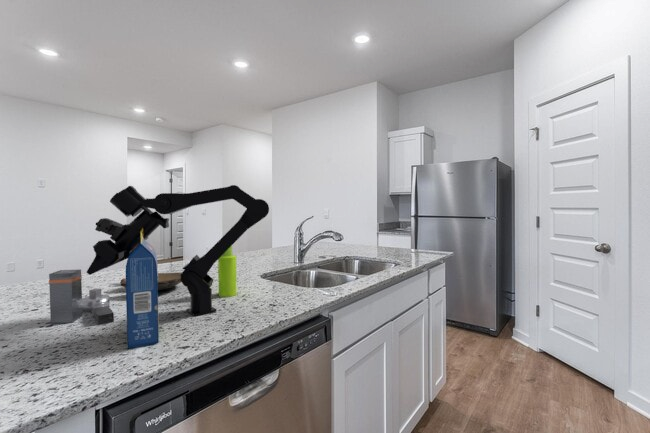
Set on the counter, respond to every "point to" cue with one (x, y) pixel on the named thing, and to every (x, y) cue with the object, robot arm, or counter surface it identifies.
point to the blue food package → (142, 296)
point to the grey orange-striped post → (65, 296)
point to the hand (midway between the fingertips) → (96, 270)
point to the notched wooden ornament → (163, 280)
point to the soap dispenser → (227, 274)
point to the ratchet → (98, 306)
